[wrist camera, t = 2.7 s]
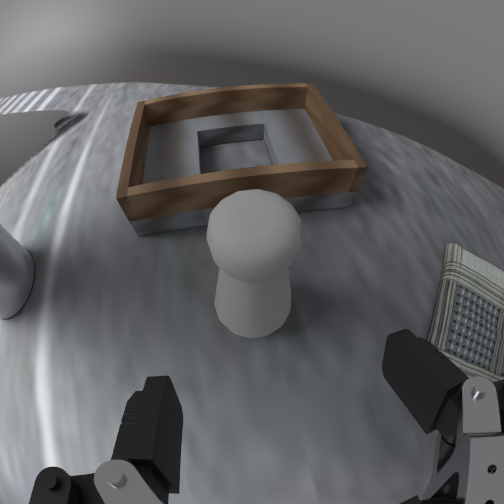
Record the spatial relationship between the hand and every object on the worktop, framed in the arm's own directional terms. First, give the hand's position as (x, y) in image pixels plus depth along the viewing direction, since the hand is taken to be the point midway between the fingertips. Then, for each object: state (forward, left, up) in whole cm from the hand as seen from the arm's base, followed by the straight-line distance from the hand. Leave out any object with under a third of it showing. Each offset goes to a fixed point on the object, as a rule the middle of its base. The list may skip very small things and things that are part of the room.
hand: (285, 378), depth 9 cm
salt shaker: (0, +6, -13) cm, 14 cm away
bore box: (+1, +23, -12) cm, 27 cm away
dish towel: (+24, -4, -13) cm, 28 cm away
